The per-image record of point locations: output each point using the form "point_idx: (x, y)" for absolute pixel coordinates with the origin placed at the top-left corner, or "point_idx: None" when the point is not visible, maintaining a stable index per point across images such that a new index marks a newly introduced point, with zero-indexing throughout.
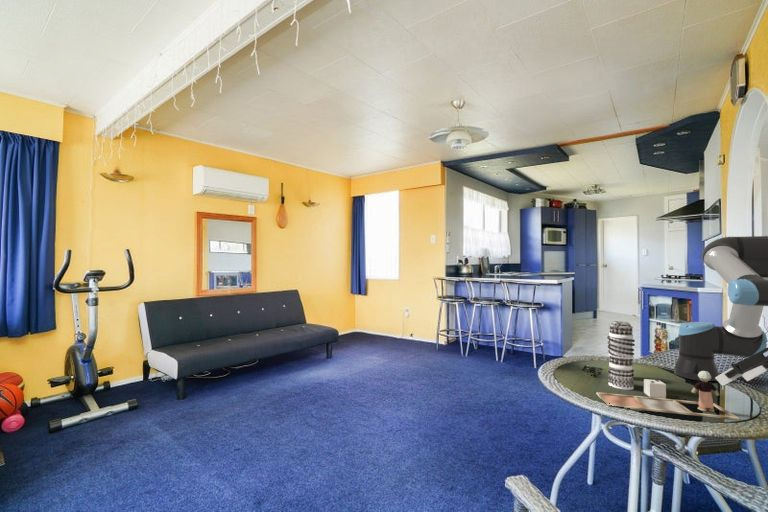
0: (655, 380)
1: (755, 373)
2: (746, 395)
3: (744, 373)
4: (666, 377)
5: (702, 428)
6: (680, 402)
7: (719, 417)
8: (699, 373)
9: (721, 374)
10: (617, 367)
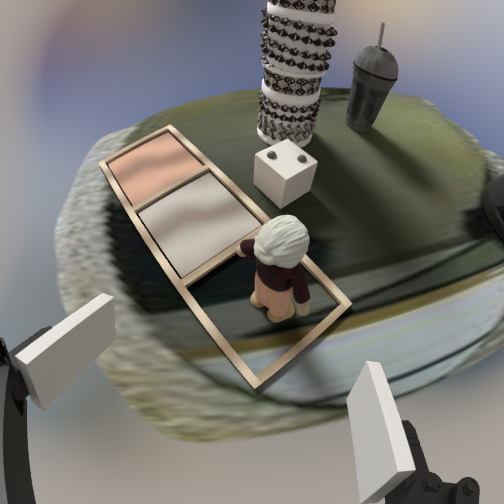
0: (298, 156)
1: (361, 440)
2: (495, 321)
3: (366, 385)
4: (453, 180)
5: None
6: None
7: (219, 345)
8: (273, 220)
9: (77, 313)
10: (262, 87)
